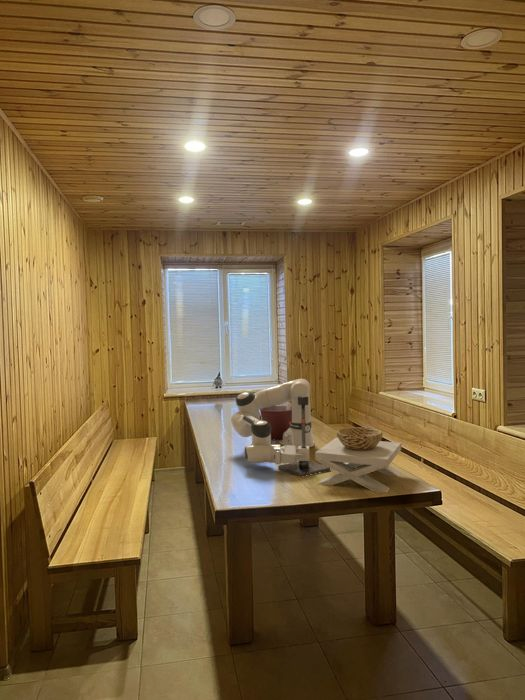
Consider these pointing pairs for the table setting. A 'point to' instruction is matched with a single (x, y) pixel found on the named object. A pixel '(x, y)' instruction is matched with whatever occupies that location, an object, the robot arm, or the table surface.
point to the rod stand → (303, 466)
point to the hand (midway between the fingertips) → (305, 453)
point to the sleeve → (304, 451)
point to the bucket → (277, 420)
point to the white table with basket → (358, 457)
